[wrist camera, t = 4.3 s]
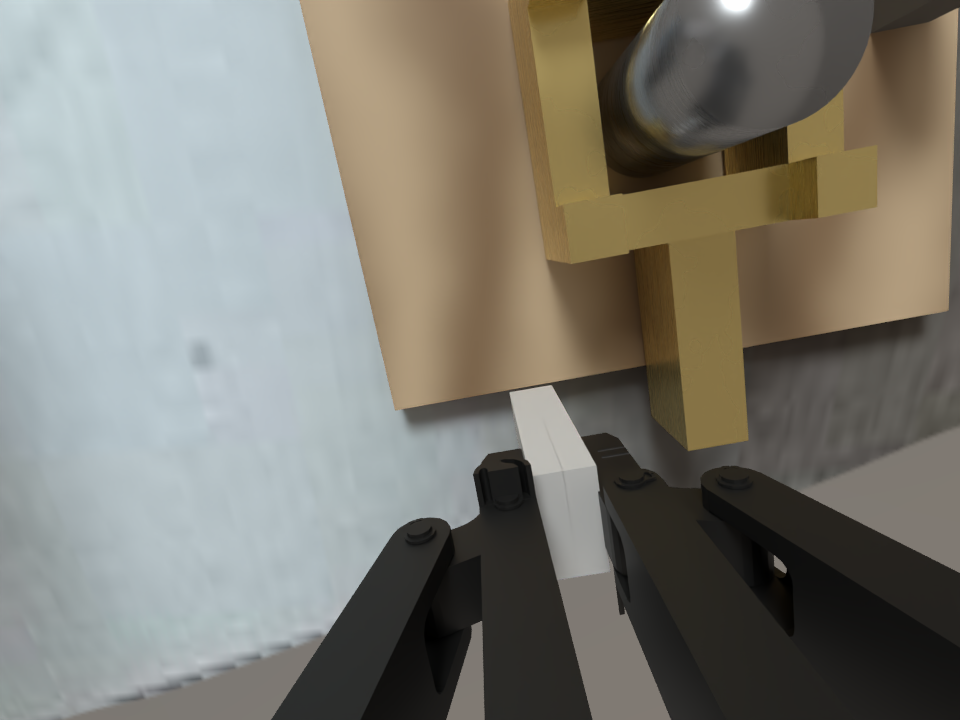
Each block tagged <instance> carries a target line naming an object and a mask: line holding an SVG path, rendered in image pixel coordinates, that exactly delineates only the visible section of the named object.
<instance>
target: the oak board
mask: <svg viewBox="0 0 960 720" xmlns="http://www.w3.org/2000/svg"><path fill="white" fill-rule="evenodd" d="M508 1H509V0H300V5H301V9H302V13H303V17H304V22H305V26H306V30H307V35H308V39H309V43H310V47H311V52H312V56H313V60H314V65H315V69H316V73H317V77H318V82H319V86H320V90H321V95H322V99H323V103H324V107H325V112H326V116H327V120H328V125H329V129H330V133H331V137H332V142H333V146H334V150H335V155H336V159H337V163H338V167H339V172H340V176H341V180H342V185H343V189H344V193H345V197H346V202H347V206H348V210H349V215H350V219H351V223H352V227H353V232H354V236H355V240H356V245H357V249H358V253H359V257H360V262H361V266H362V270H363V275H364V279H365V283H366V287H367V292H368V296H369V300H370V305H371V309H372V313H373V317H374V322H375V326H376V330H377V335H378V339H379V343H380V347H381V352H382V356H383V360H384V365H385V369H386V373H387V377H388V382H389V386H390V390H391V395H392V399H393V403H394V407H395V410H401V409H406V408H412V407H417V406H423V405H428V404H434V403H440V402H445V401H451V400H456V399H462V398H467V397H473V396H478V395H484V394H489V393H495V392H501V391H506V390H512V389H517V388H523V387H528V386H534V385H539V384H545V383H551V382H556V381H562V380H567V379H573V378H578V377H584V376H589V375H595V374H600V373H606V372H612V371H617V370H623V369H628V368H634V367H639V366H645V365H646V360H645V351H644V342H643V333H642V324H641V315H640V305H639V296H638V287H637V278H636V269H635V260H634V251H633V250H629V253H628V254H623V255H617V256H612V257H606V258H601V259H596V260H590V261H585V262H580V263H574V264H569V263H564V262H558V261H553V260H548V259H546V256H545V249H544V243H543V236H542V229H541V223H540V216H539V209H538V203H537V196H536V189H535V183H534V176H533V169H532V163H531V156H530V149H529V142H528V136H527V129H526V122H525V116H524V109H523V102H522V96H521V89H520V82H519V76H518V69H517V62H516V56H515V49H514V42H513V35H512V29H511V22H510V15H509V9H508ZM957 30H958V8H957V9H955V10H953V11H951V12H949V13H947V14H944V15H942V16H940V17H938V18H936V19H934V20H932V21H930V22H927V23H922V24H917V25H912V26H907V27H901V28H896V29H891V30H886V31H881V32H876V33H871V34H870V37H869V40H868V44H867V47H866V49H865V52H864V54H863V57H862V59H861V61H860V63H859V65H858V67H857V69H856V70H855V72H854V74H853V75H852V77H851V78H850V80H849V81H848V82H847V84H846V85H845V86H844V87H843V108H844V151H848V150H853V149H858V148H864V147H869V146H874V145H877V207H875V208H870V209H865V210H859V211H854V212H848V213H843V214H838V215H832V216H827V217H822V218H813V219H800V220H789V221H784V222H779V223H773V224H768V225H762V226H757V227H752V228H746V229H741V230H736V231H735V237H736V252H737V268H738V284H739V299H740V315H741V331H742V347H743V348H745V347H750V346H756V345H761V344H767V343H772V342H778V341H784V340H789V339H795V338H800V337H806V336H811V335H817V334H822V333H828V332H834V331H839V330H845V329H850V328H856V327H861V326H867V325H872V324H878V323H883V322H889V321H895V320H900V319H906V318H911V317H917V316H922V315H928V314H933V313H939V312H945V311H948V308H949V277H950V246H951V215H952V184H953V154H954V123H955V92H956V61H957ZM636 35H637V34H634V35H629V36H624V37H619V38H614V39H608V40H603V41H598V42H593V43H592V48H593V56H594V65H595V73H596V82H597V86H598V84H599V82H600V81H601V80H602V79H603V77H604V76H605V75H606V73H607V72H608V71H609V70H610V68H611V67H612V66H613V65H614V63H615V62H616V61H617V59H618V58H619V57H620V56H621V54H622V53H623V52H624V51H625V49H626V48H627V47H628V46H629V44H630V43H631V42H632V40H633V39H634V38H635V37H636ZM606 167H607V176H608V184H609V193H610V195H615V194H620V193H622V195H625V194H630V193H635V192H641V191H646V190H651V189H657V188H662V187H667V186H673V185H678V184H683V183H688V182H694V181H699V180H704V179H710V178H715V177H720V176H725V175H726V168H725V153H724V150H722V151H719V152H717V153H714V154H711V155H709V156H706V157H703V158H701V159H698V160H695V161H693V162H690V163H688V164H685V165H682V166H680V167H677V168H674V169H672V170H669V171H666V172H664V173H661V174H658V175H655V176H651V177H645V178H635V177H628V176H625V175H622V174H620V173H618V172H616V171H614V170H612V169H611V168H609V167H608V166H607V165H606Z"/></svg>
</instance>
